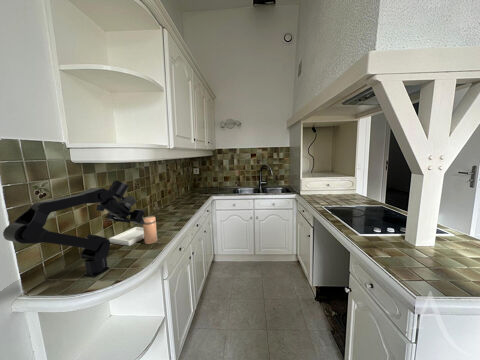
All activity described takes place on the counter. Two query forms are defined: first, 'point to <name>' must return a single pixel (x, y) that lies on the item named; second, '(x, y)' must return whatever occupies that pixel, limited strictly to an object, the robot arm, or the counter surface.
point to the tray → (128, 237)
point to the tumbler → (150, 230)
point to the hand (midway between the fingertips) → (136, 222)
